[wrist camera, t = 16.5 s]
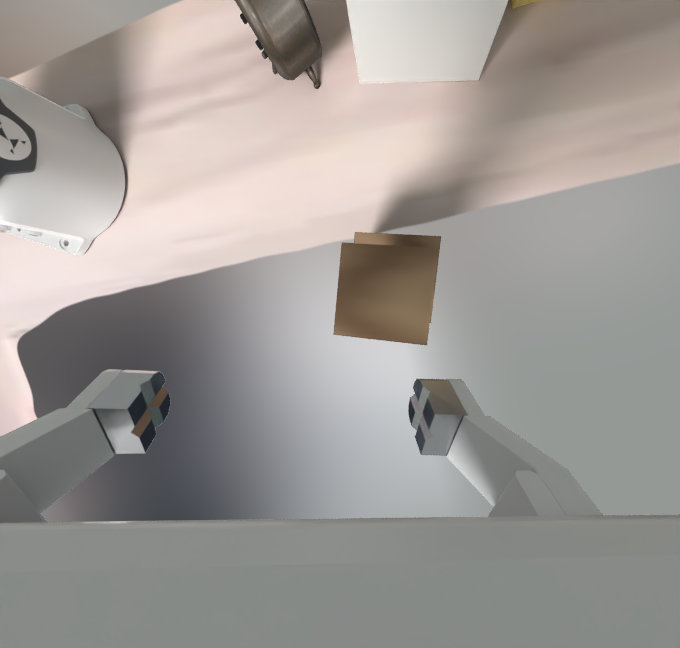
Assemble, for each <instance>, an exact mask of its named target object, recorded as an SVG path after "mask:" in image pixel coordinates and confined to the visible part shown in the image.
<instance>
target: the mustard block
mask: <svg viewBox="0 0 680 648" xmlns="http://www.w3.org/2000/svg"><path fill="white" fill-rule="evenodd" d="M535 1H538V0H511V2H512V9H514V8H517V7H520V6H523V5H526V4H529V3H532V2H535Z"/></svg>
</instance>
